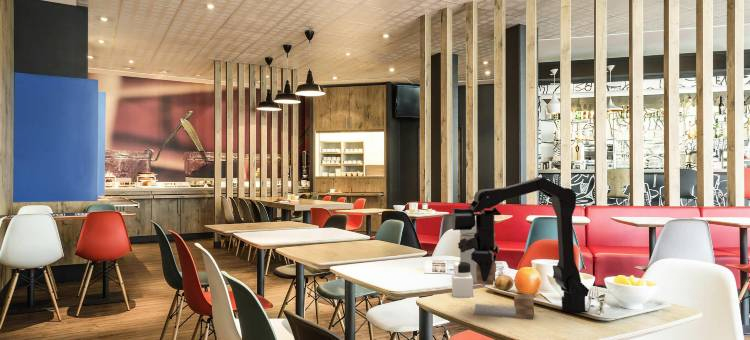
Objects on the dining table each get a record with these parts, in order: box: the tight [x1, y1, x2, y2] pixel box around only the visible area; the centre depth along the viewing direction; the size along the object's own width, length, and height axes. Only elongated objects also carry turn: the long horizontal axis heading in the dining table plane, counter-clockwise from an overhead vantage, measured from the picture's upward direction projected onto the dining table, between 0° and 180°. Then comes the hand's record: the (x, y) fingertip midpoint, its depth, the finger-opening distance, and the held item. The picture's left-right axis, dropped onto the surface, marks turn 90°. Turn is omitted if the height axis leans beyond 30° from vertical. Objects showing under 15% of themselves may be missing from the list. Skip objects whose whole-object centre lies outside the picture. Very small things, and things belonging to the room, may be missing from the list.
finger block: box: [476, 261, 497, 286], centre depth 161 cm, size 5×6×6 cm
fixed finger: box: [513, 293, 535, 321], centre depth 157 cm, size 5×6×6 cm
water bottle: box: [459, 220, 477, 285], centre depth 209 cm, size 9×8×25 cm
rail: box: [472, 303, 535, 321], centre depth 159 cm, size 18×6×3 cm, turn 70°
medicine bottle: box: [451, 261, 474, 298], centre depth 188 cm, size 7×7×12 cm
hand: (486, 279), depth 161 cm, fingers closed on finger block, 6 cm apart
